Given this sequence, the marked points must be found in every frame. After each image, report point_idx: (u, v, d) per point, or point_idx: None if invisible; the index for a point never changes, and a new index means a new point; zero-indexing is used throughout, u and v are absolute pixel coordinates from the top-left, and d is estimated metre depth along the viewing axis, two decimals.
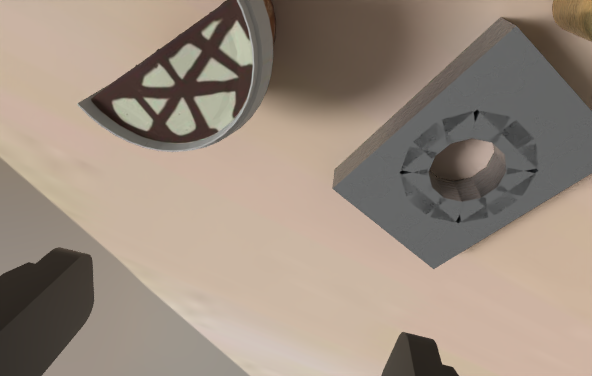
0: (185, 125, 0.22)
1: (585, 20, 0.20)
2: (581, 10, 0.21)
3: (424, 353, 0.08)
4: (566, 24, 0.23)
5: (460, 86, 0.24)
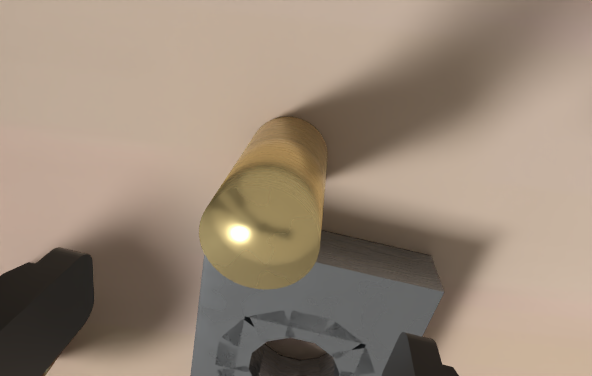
0: None
1: None
2: None
3: (424, 353, 0.08)
4: None
5: (209, 304, 0.21)
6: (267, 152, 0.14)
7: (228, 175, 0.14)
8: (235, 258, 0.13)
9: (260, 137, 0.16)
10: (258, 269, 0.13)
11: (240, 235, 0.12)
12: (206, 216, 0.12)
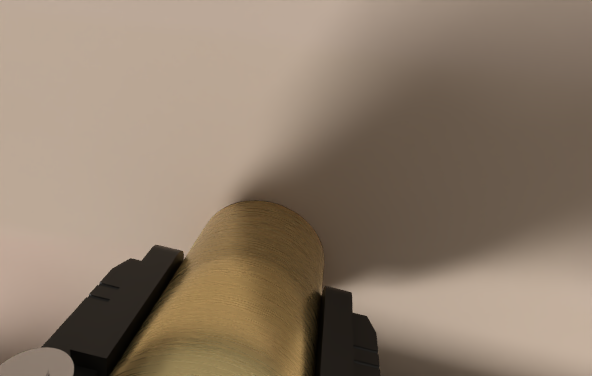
0: None
1: None
2: None
3: (338, 302, 0.09)
4: None
5: None
6: (192, 330, 0.07)
7: None
8: None
9: (198, 259, 0.09)
10: None
11: None
12: None
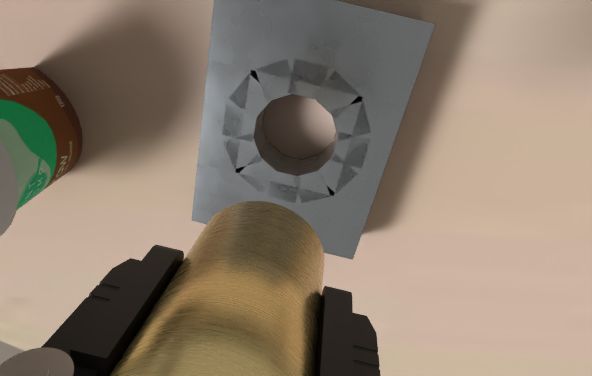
0: None
1: None
2: None
3: (338, 302, 0.09)
4: None
5: (218, 57, 0.22)
6: (192, 331, 0.07)
7: None
8: None
9: (198, 259, 0.09)
10: None
11: None
12: None
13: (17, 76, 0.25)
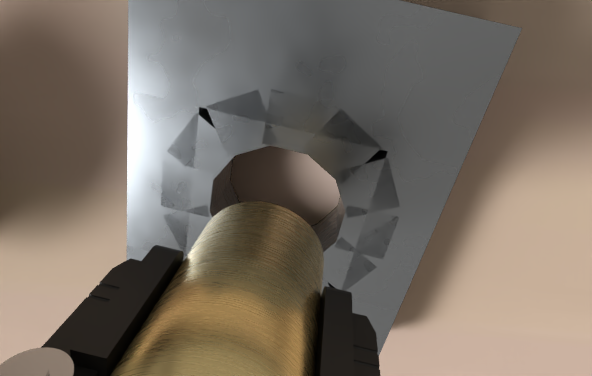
0: None
1: None
2: None
3: (338, 302, 0.09)
4: None
5: (143, 86, 0.13)
6: (192, 331, 0.07)
7: None
8: None
9: (198, 260, 0.09)
10: None
11: None
12: None
13: None
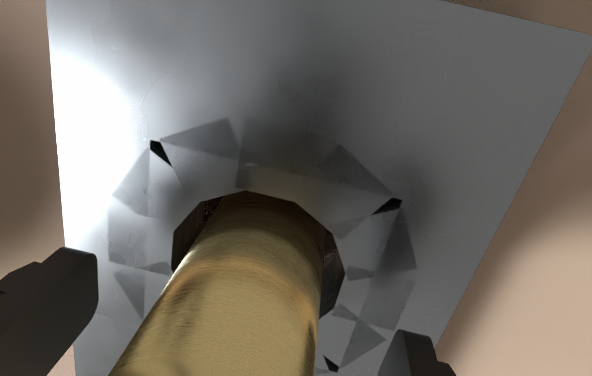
0: None
1: None
2: None
3: (419, 350, 0.08)
4: None
5: (75, 112, 0.10)
6: (227, 254, 0.09)
7: (160, 295, 0.08)
8: None
9: (225, 212, 0.11)
10: None
11: None
12: None
13: None
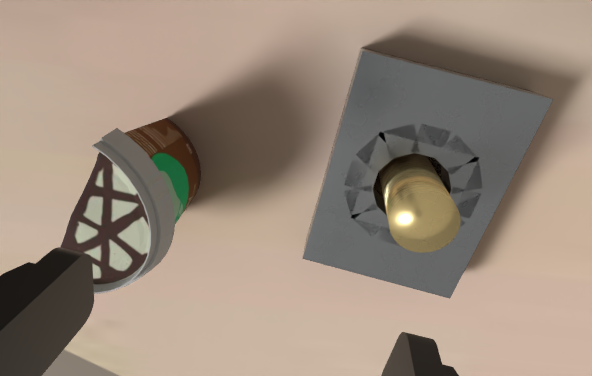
0: (123, 261, 0.25)
1: None
2: None
3: (424, 353, 0.08)
4: None
5: (351, 120, 0.25)
6: (418, 173, 0.24)
7: (397, 186, 0.24)
8: (407, 233, 0.22)
9: (402, 163, 0.26)
10: (420, 240, 0.22)
11: (414, 220, 0.22)
12: (397, 208, 0.22)
13: (161, 128, 0.28)
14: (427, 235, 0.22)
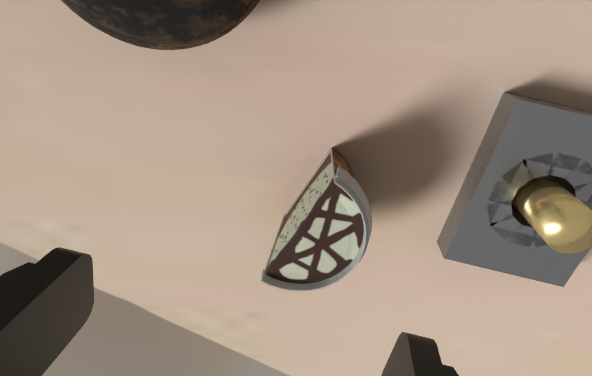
0: (329, 265, 0.32)
1: None
2: (523, 215, 0.34)
3: (424, 353, 0.08)
4: None
5: (501, 150, 0.32)
6: (560, 192, 0.31)
7: (545, 202, 0.31)
8: (559, 239, 0.30)
9: (537, 182, 0.33)
10: (568, 244, 0.30)
11: (566, 229, 0.29)
12: (554, 221, 0.29)
13: (337, 158, 0.35)
14: (574, 240, 0.29)
